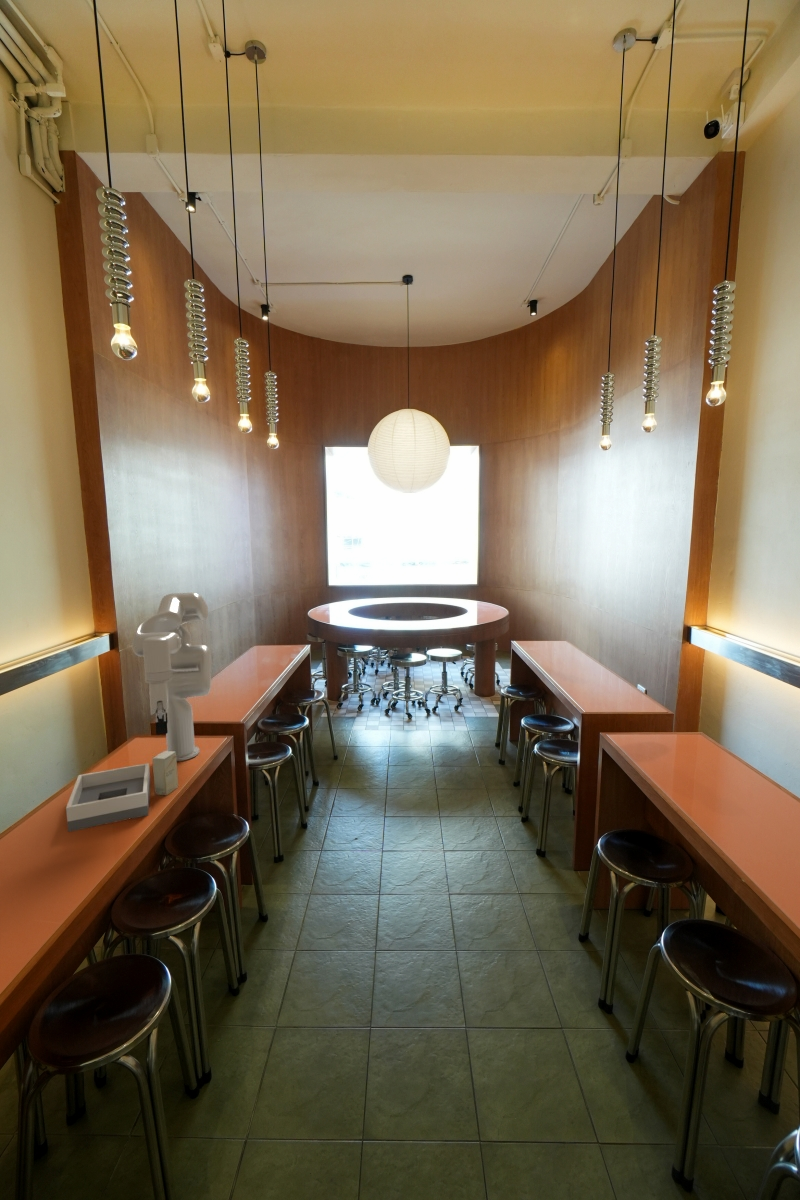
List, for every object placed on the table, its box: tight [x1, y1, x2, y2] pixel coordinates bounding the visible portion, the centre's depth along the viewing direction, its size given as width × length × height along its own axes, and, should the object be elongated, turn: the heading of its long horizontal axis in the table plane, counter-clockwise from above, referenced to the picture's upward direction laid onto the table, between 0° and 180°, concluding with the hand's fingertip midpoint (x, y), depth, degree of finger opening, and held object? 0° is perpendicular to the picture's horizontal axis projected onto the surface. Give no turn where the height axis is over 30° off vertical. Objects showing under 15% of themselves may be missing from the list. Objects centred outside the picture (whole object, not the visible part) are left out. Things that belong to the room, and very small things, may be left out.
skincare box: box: [151, 750, 179, 796], centre depth 165 cm, size 6×4×12 cm
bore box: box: [65, 762, 151, 833], centre depth 157 cm, size 22×20×7 cm
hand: (162, 728), depth 163 cm, fingers open, 9 cm apart
